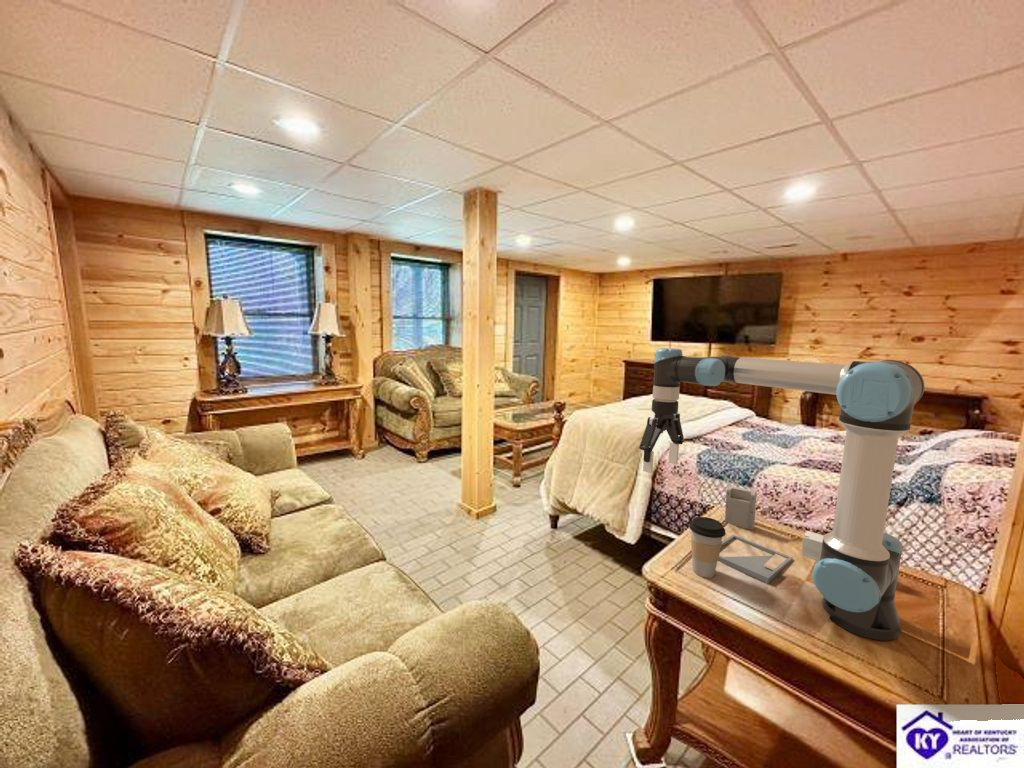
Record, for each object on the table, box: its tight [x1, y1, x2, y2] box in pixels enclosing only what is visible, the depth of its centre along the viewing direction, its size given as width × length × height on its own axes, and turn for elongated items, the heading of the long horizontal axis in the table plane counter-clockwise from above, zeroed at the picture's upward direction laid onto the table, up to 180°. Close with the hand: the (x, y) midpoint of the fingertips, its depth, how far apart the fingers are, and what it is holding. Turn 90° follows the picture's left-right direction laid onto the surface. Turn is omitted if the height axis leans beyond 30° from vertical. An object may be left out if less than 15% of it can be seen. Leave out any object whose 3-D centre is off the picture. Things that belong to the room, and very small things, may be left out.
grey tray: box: [717, 534, 793, 585], centre depth 131 cm, size 18×18×2 cm
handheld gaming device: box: [724, 485, 757, 531], centre depth 150 cm, size 9×15×4 cm
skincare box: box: [800, 530, 825, 562], centre depth 132 cm, size 6×6×7 cm
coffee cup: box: [688, 516, 726, 579], centre depth 123 cm, size 9×9×15 cm
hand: (660, 467), depth 133 cm, fingers open, 13 cm apart
